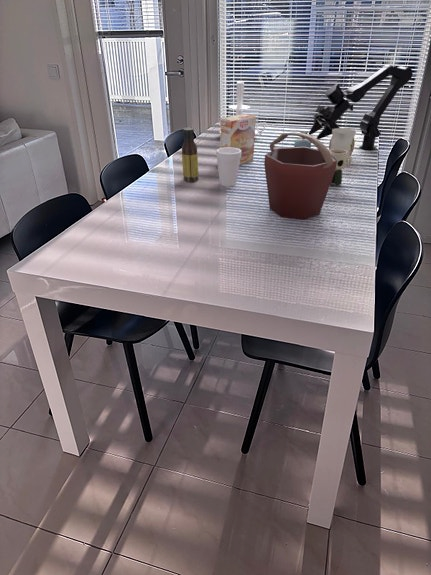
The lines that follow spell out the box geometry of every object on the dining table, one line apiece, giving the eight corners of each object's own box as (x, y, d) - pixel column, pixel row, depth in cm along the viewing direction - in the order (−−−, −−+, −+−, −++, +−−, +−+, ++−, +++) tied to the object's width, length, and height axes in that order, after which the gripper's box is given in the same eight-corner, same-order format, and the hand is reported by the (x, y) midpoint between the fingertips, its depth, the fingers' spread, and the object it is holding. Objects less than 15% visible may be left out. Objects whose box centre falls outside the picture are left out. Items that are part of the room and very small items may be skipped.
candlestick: (261, 144, 221) (265, 84, 206) (215, 141, 226) (215, 82, 211) (267, 135, 238) (271, 79, 223) (224, 132, 243) (225, 77, 228)
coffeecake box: (229, 167, 188) (231, 120, 177) (219, 164, 192) (219, 118, 182) (254, 161, 196) (256, 116, 186) (243, 157, 201) (245, 113, 190)
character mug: (318, 185, 170) (322, 152, 163) (320, 179, 175) (324, 147, 168) (346, 188, 167) (352, 154, 160) (347, 182, 173) (353, 149, 166)
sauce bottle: (198, 177, 177) (197, 126, 166) (198, 182, 171) (197, 130, 161) (182, 177, 176) (181, 126, 166) (182, 182, 171) (180, 130, 160)
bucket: (251, 201, 155) (255, 129, 141) (303, 193, 162) (312, 124, 149) (286, 228, 136) (295, 148, 122) (344, 217, 143) (358, 140, 130)
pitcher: (353, 155, 205) (358, 125, 198) (349, 166, 191) (355, 134, 183) (330, 153, 208) (334, 123, 201) (324, 163, 194) (329, 132, 186)
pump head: (302, 137, 209) (303, 130, 207) (308, 139, 207) (309, 131, 205) (298, 139, 207) (299, 131, 205) (304, 140, 205) (305, 133, 203)
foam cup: (243, 182, 172) (245, 149, 165) (234, 189, 165) (235, 155, 158) (221, 178, 176) (222, 146, 168) (212, 185, 168) (212, 152, 161)
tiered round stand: (298, 146, 218) (299, 135, 215) (320, 151, 211) (322, 139, 208) (283, 151, 210) (284, 139, 207) (305, 157, 203) (307, 144, 200)
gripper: (319, 95, 207) (295, 120, 211) (337, 102, 192) (310, 129, 196) (332, 112, 213) (309, 136, 217) (350, 120, 197) (324, 146, 201)
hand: (312, 136), depth 207 cm, fingers open, 9 cm apart
